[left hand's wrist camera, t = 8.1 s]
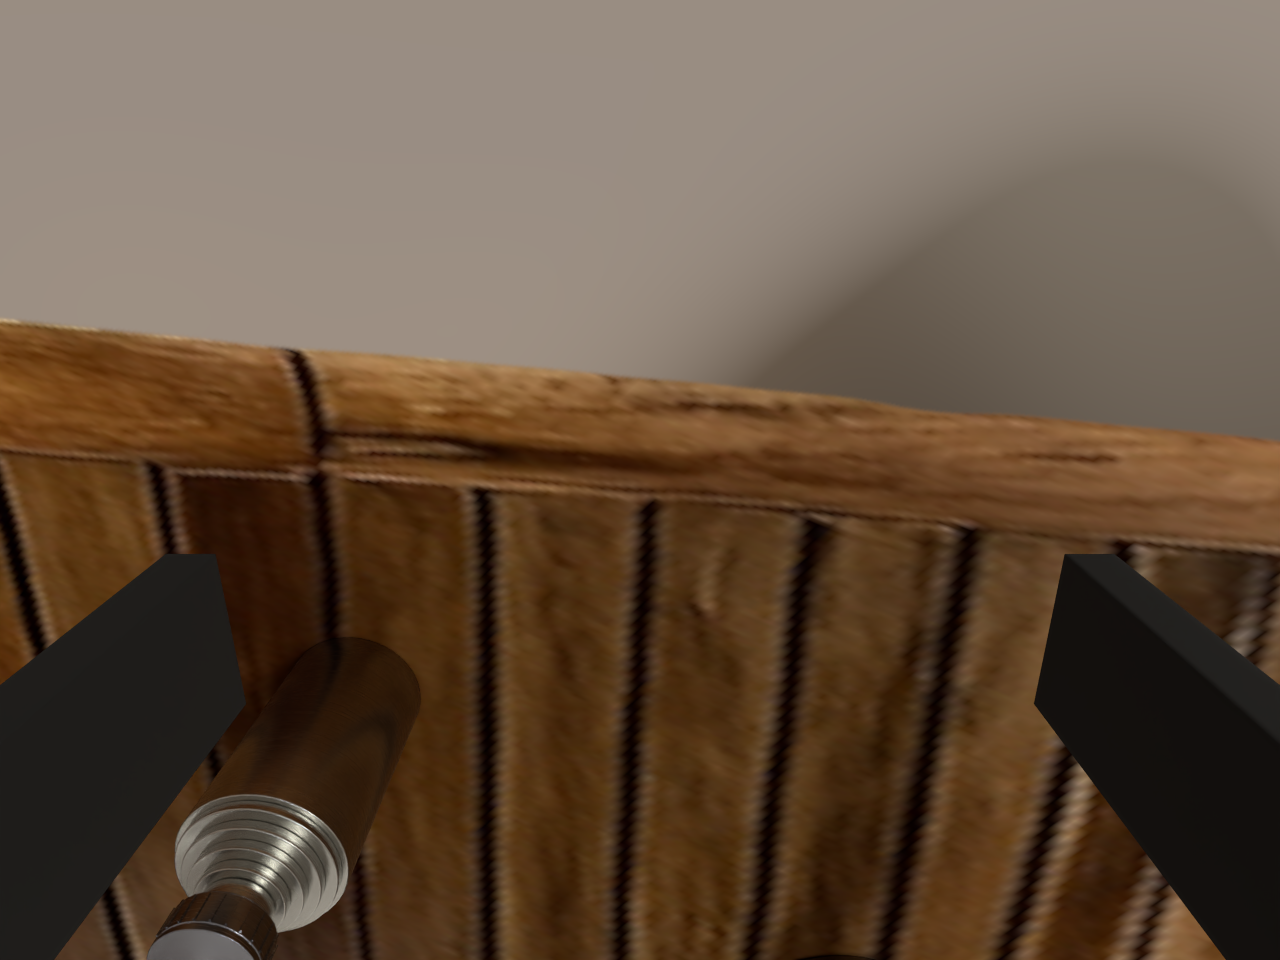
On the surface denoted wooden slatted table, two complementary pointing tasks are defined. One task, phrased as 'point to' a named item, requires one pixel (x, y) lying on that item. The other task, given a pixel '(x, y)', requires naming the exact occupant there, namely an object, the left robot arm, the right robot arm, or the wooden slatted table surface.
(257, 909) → the cap
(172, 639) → the left robot arm
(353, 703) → the bottle
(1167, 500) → the wooden slatted table surface
